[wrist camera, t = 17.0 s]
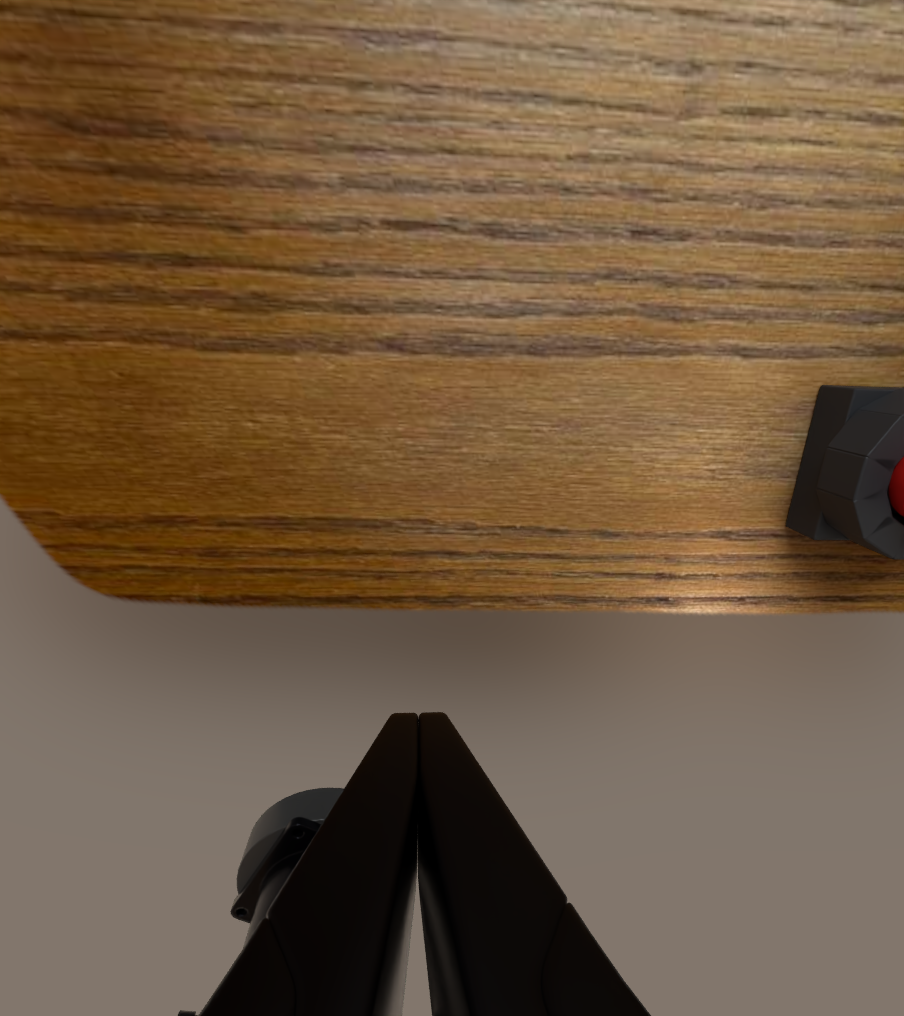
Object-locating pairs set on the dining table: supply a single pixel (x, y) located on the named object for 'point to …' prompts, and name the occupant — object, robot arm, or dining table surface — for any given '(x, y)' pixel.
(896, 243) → the dining table surface
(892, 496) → the stop button
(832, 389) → the switch block
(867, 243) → the dining table surface
